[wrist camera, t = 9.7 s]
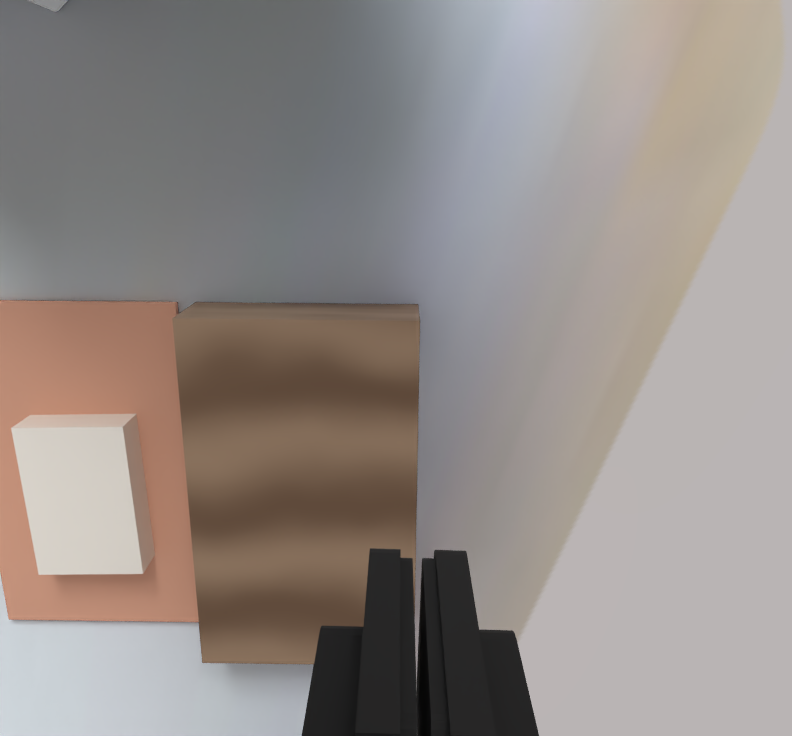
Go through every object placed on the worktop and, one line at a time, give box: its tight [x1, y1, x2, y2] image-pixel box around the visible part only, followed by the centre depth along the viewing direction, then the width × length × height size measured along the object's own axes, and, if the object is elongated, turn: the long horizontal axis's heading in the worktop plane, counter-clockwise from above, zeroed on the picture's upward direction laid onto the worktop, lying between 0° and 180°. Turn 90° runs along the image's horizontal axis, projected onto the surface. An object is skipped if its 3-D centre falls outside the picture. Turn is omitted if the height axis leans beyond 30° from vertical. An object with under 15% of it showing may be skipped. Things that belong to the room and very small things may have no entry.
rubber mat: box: [0, 300, 199, 622], centre depth 40 cm, size 20×12×1 cm, turn 179°
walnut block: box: [172, 302, 420, 664], centre depth 38 cm, size 20×12×4 cm, turn 179°
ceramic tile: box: [11, 414, 155, 575], centre depth 39 cm, size 9×6×2 cm, turn 1°
